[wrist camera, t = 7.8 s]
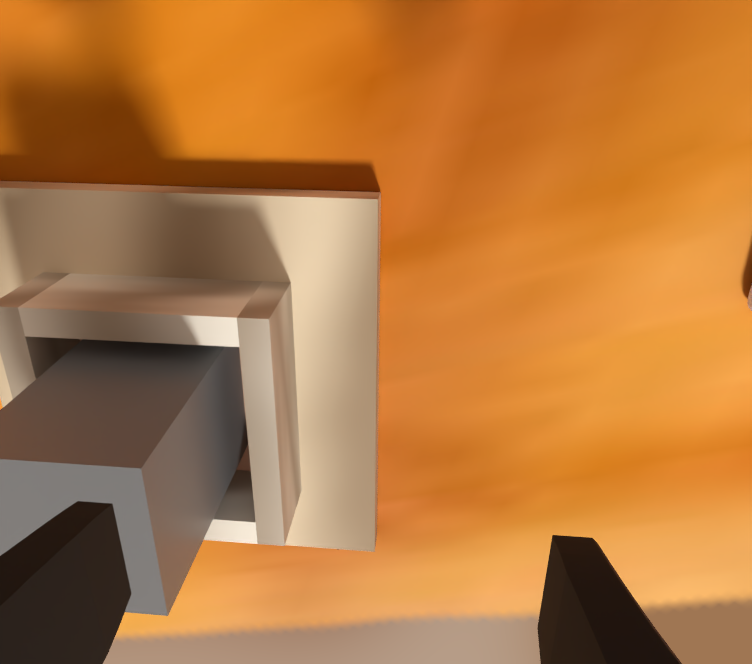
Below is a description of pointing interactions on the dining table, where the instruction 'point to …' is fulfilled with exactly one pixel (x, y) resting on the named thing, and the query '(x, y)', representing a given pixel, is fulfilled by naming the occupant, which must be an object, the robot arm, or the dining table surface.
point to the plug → (128, 451)
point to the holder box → (221, 326)
